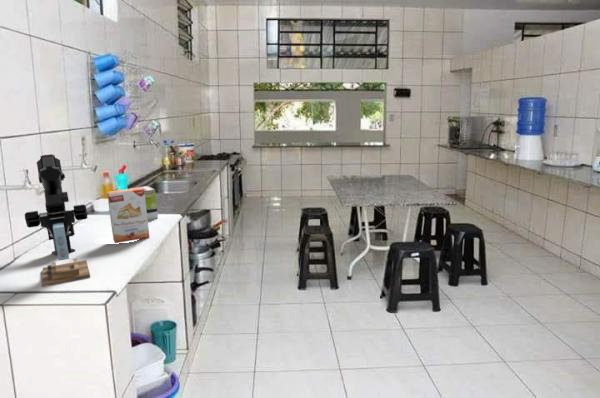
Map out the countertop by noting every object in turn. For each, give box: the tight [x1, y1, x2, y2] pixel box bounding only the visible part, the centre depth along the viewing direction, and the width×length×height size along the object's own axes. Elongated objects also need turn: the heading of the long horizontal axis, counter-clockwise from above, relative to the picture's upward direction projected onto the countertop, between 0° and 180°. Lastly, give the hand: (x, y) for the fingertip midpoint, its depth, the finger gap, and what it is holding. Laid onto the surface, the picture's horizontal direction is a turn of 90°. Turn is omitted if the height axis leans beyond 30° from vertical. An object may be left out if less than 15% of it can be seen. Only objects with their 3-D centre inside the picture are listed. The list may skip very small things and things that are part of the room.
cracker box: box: [106, 187, 150, 244], centre depth 198 cm, size 14×6×21 cm, turn 118°
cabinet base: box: [41, 258, 91, 288], centre depth 162 cm, size 18×14×3 cm
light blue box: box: [53, 223, 70, 261], centre depth 159 cm, size 8×3×11 cm, turn 27°
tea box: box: [128, 185, 159, 221], centre depth 238 cm, size 15×10×15 cm, turn 30°
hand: (60, 236), depth 159 cm, fingers closed on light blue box, 3 cm apart
